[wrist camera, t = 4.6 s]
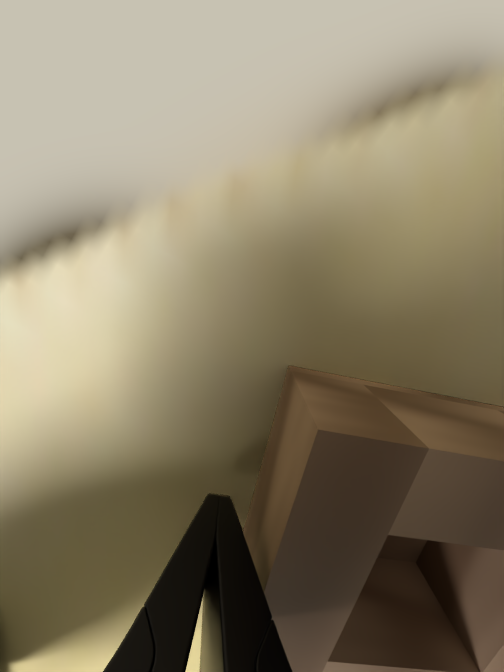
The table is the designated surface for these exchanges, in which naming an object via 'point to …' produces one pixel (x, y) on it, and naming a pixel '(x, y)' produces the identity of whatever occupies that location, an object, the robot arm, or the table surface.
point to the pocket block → (381, 527)
